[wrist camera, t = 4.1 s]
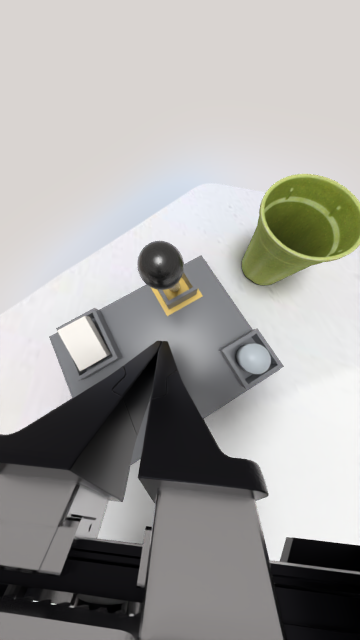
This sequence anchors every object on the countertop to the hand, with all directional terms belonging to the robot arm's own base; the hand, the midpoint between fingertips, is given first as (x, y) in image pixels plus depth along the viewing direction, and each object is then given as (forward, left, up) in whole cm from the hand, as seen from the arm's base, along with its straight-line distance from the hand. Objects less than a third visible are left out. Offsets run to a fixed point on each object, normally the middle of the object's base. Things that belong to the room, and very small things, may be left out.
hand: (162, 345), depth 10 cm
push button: (-5, -7, -7) cm, 11 cm away
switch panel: (0, +1, -9) cm, 9 cm away
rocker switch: (+5, +8, -5) cm, 11 cm away
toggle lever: (+6, -4, -6) cm, 9 cm away
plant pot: (+4, -18, -9) cm, 20 cm away
